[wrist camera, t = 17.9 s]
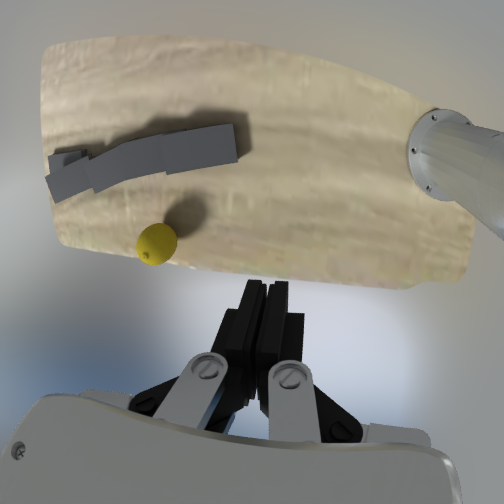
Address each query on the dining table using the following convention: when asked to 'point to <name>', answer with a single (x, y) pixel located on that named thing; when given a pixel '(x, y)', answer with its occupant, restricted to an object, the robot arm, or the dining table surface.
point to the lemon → (156, 244)
